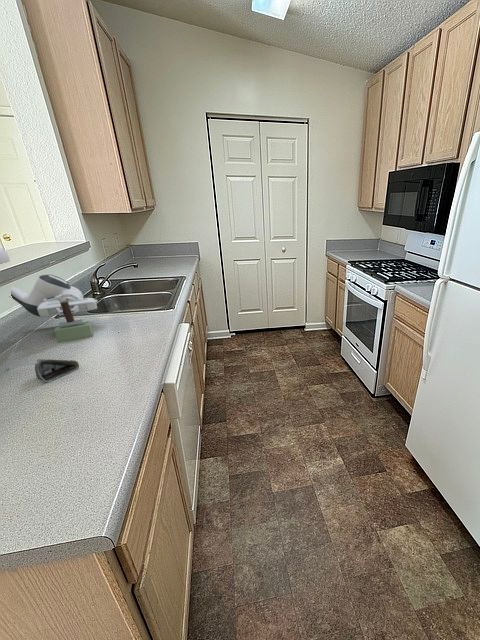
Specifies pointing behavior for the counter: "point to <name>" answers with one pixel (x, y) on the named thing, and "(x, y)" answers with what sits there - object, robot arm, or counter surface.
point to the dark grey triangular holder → (54, 368)
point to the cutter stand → (73, 332)
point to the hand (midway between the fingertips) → (67, 312)
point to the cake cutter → (68, 316)
